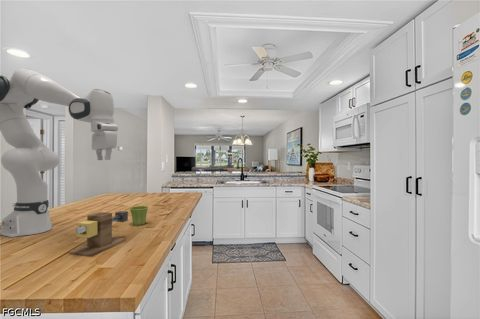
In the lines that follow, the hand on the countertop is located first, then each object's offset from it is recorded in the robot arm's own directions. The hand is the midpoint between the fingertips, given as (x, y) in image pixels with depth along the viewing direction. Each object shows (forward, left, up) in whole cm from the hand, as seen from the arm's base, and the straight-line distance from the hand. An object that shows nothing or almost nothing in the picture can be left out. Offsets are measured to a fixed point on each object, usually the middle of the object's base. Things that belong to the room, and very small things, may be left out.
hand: (103, 160), depth 108 cm
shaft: (+6, -7, -27) cm, 28 cm away
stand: (+6, -9, -34) cm, 35 cm away
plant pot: (0, +25, -34) cm, 43 cm away
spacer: (+6, -15, -28) cm, 32 cm away
